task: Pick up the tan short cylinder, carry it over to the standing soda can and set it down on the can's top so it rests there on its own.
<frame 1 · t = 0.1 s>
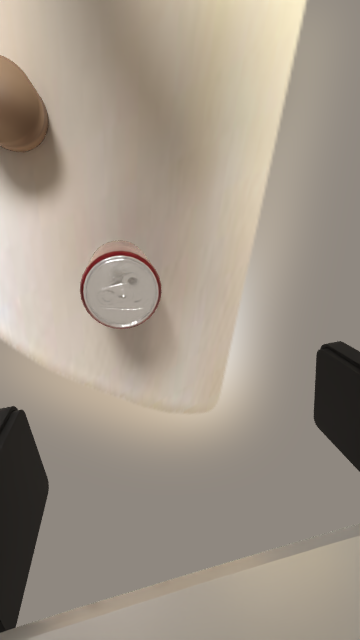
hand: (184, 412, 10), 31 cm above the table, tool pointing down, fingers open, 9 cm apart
tan short cylinder: (13, 115, 32), on the table
soda can: (120, 269, 39), on the table
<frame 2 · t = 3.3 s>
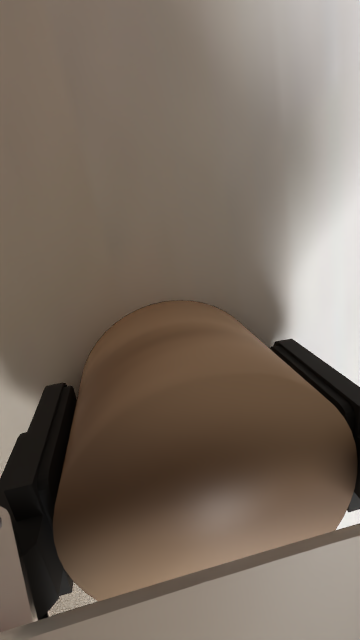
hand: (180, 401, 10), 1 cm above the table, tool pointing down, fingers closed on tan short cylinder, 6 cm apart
tan short cylinder: (175, 388, 11), on the table, touching gripper
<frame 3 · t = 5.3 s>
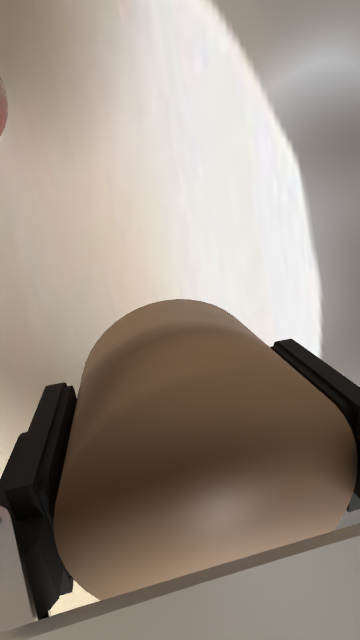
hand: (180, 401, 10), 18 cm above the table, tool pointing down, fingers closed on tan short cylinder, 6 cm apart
tan short cylinder: (176, 387, 11), point 17 cm above the table, touching gripper
when the fingers open (14 cm above the table, at t = 7.4 s): tan short cylinder stays where it is, resting on soda can.
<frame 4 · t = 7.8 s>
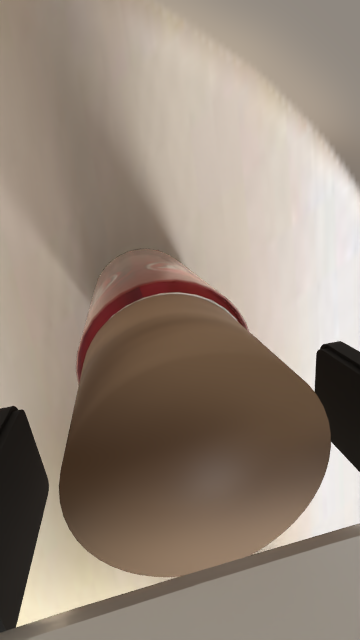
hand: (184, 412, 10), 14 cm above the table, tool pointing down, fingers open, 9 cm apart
tan short cylinder: (170, 376, 12), point 12 cm above the table, touching soda can
soda can: (144, 296, 23), on the table, touching tan short cylinder
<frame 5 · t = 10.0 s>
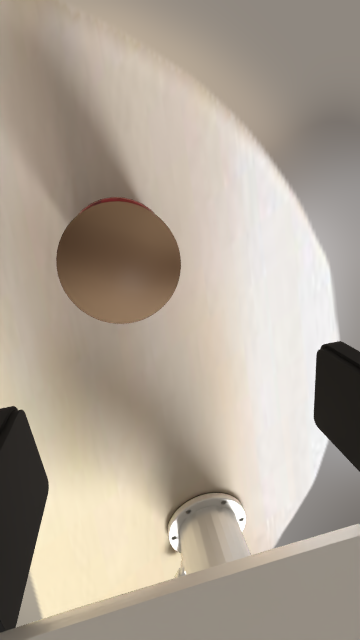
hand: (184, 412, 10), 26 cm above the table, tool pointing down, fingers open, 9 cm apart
tan short cylinder: (119, 253, 21), point 12 cm above the table, touching soda can
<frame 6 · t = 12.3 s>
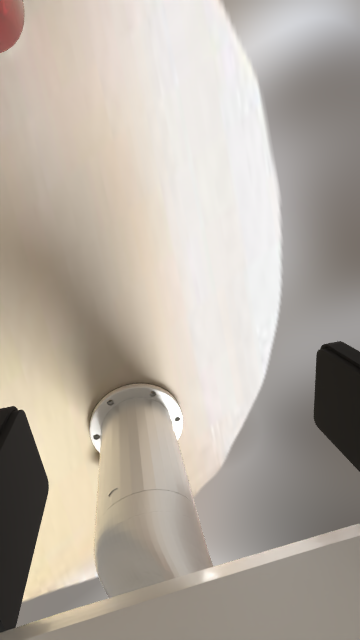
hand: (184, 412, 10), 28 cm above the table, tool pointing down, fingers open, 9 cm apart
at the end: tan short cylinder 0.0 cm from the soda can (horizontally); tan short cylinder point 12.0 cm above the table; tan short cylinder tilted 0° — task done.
